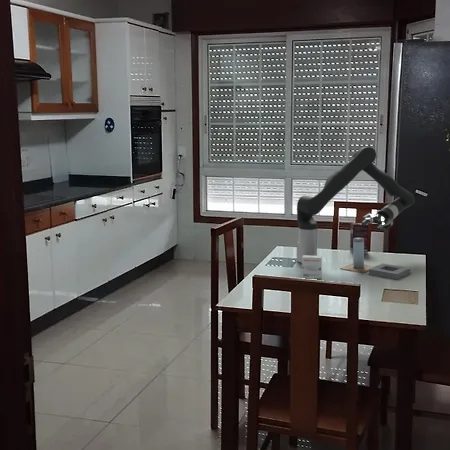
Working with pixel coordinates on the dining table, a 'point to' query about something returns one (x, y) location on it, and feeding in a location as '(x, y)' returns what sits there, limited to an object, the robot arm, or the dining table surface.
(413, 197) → the robot arm
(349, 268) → the pad
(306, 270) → the ink box
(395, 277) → the frame
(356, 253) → the cylinder
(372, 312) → the dining table surface
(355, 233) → the supplement box
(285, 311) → the dining table surface
